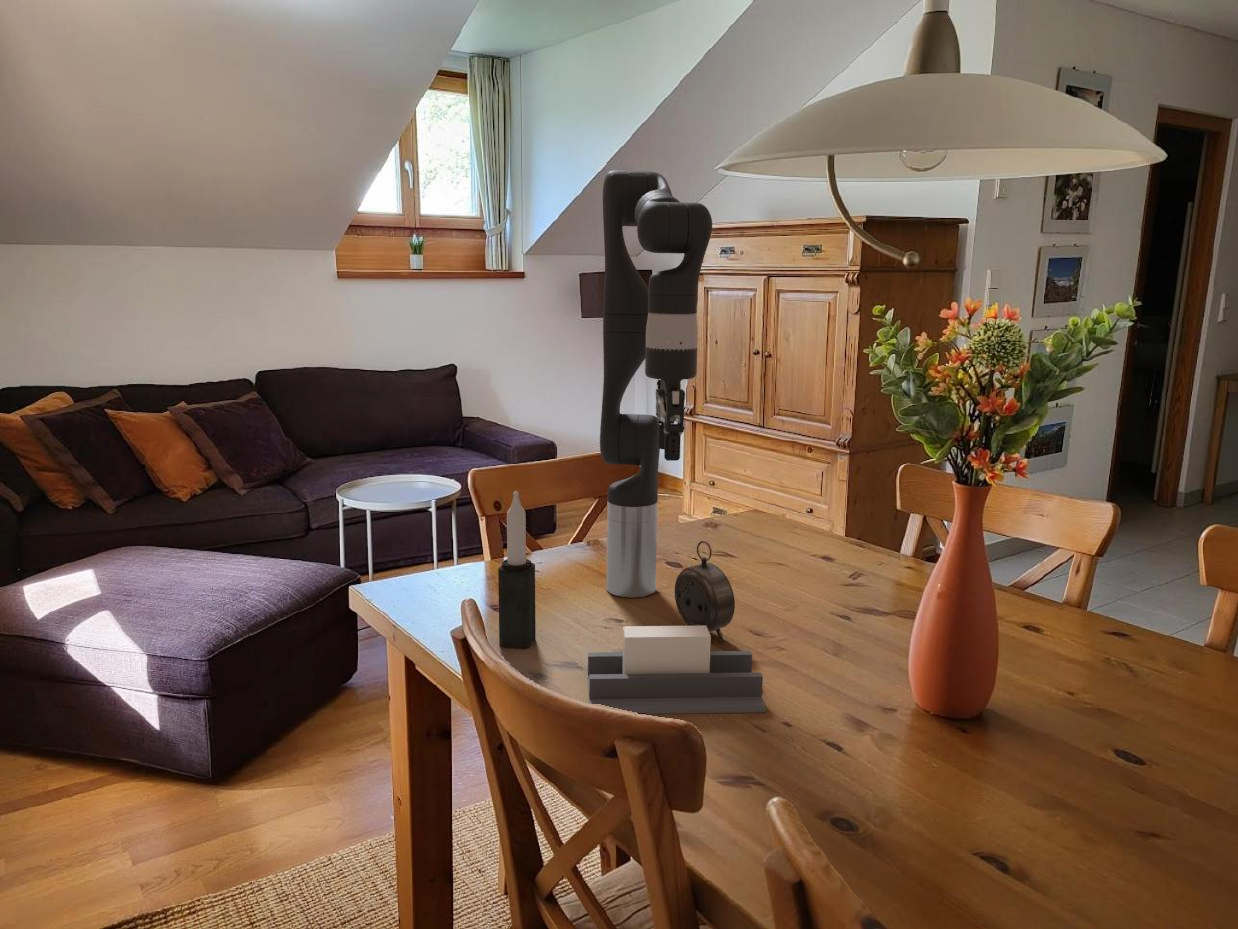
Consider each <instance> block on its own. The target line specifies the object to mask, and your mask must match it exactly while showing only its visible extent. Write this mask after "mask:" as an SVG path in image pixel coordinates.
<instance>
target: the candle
mask: <svg viewBox="0 0 1238 929" xmlns="http://www.w3.org/2000/svg"><path fill="white" fill-rule="evenodd" d="M519 493H520V492H518V491H517V490H515V491H514V492H513V493H512V494H513V497H512V502H511V504H510V506H509V509H507V512H506V547H507V548H506V549H507V551H506V552H507V553H506V555H507V558H506V559H504V560H503V561H502V562H501V565H500V566H499V567H498V569H497V570H498V571H497V572H498V573H497V575H498V578H497V579H498V580H497V581H498V586H497V587H498V641H499V642H498V643H499V646H500V647H501V648H507V649H508V648H509V649H518V650H526V649H529V648H531V645H532V643H533V642H534V641H536V564H535V563H534V562H532V561H531V560H530V559H527V543H526V542H527V538H526V536H527V535H526V534H527V532H526V531H527V529H526V528H527V527H526V525H527V523H526V522H527V519H526V511H525V509H524V508H523V506H522V503H521V501H520V497H519V496H520V495H519Z"/></svg>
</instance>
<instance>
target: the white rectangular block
mask: <svg viewBox="0 0 1238 929" xmlns="http://www.w3.org/2000/svg"><path fill="white" fill-rule="evenodd" d="M711 639H712V637H711V633H710V632H709V631H708V628H707V626H688V625H659V626H658V625H645V626H644V625H640V626H638V625H637V626H636V625H635V626H633V625H632V626H629V625H628V626H627V625H626V626H623V627H622V652H623V667H622V674H671V673H709V672H710V651H711V641H712V640H711Z"/></svg>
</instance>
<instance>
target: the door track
mask: <svg viewBox="0 0 1238 929" xmlns="http://www.w3.org/2000/svg"><path fill="white" fill-rule="evenodd" d="M587 653H588V654H587V685H588V701H589V702H588V703H591V704H601V705H605V706H609V707H613V708H618V709H622V710H627V711H632V712H637V713H646V714H645V715H658V714H660V715H662V714H663V715H666V714H667V715H670V714H672V715H673V714H724V713H725V714H727V713H728V714H731V713H734V714H736V713H737V714H738V713H766V709H767V706H766V703H765V700H764V699H763V684H764V682H763V681H764V679H763V678H764V677H763V674H762V672H760V671H759V672H752V669H753V653H752V651H751V650H715V651H714V650H712V651H711V650H710V672H709V673H671V674H622V667H623V651H621V652H620V651H618V652H614V651H611V652H604V651H603V652H600V651H599V652H598V651H596V652H587Z"/></svg>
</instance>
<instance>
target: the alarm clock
mask: <svg viewBox="0 0 1238 929" xmlns="http://www.w3.org/2000/svg"><path fill="white" fill-rule="evenodd" d="M701 544H705V545H706V546H707V547H708V549H709V556H708V557H706V556H704V557H701V554H700V550H699V547H700V545H701ZM696 552H697V556H698V557H699V559H700V561H701V563H698V564H696V565H693V566H689V567H685V568H684V569H682V570H681V571H680V572H679V574H678V576H677V578H675V579H676V580H675V583H674V600H675V604H676V607H677V610H678V613H679V614H680V616H681V619H682V621H684V623H685V624H686V626H707V628H708V631H709V633H710V632H714V631H715V632H716V634H717V636H718V638H719V639H720V643H725V639H724V637H723V633H722V631H721V629H723V628H725V627H727V626H728V625H729V624H730V623H731V621H732V620H733V617H734V614H735V608H736V606H735V605H736V602H735V595H734V590H733V587H732V584H731V582H730V581H729V579H728V577H727V576H726V574H725V572H724V571H723V570H722V569H721V568H719V566H717V565H715V564H713V563H711V562H708V561H709V560H710V559H711V557H712V554H713V550H712V547H711V544H710V543H708V541H705V540H701V541H699V542H698V544H697V546H696Z"/></svg>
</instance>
